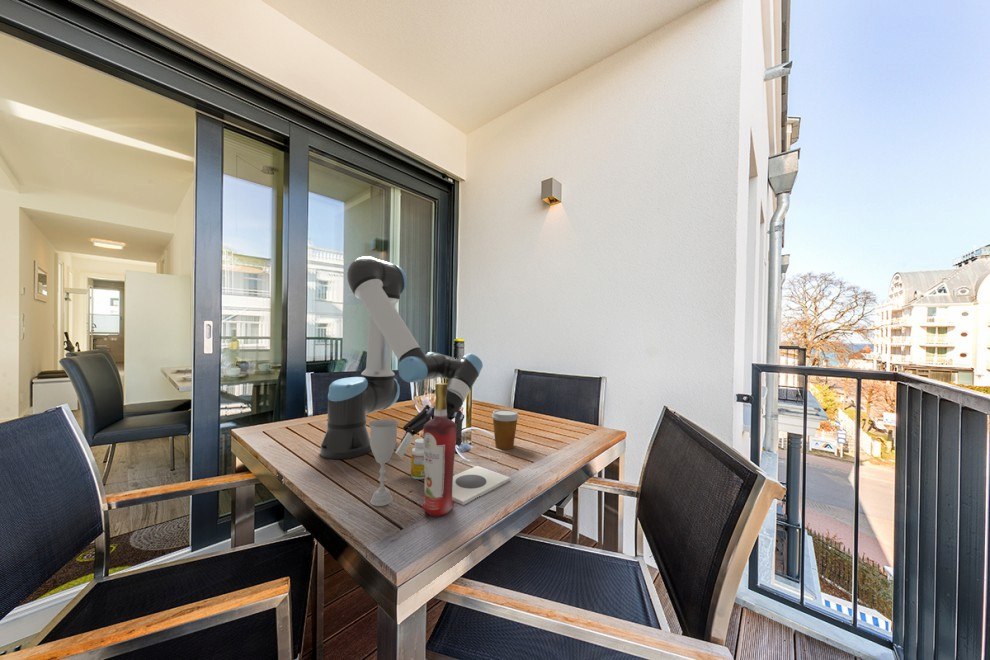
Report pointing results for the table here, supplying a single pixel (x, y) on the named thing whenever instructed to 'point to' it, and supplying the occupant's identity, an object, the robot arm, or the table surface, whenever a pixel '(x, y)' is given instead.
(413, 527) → the table surface
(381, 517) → the table surface
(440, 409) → the liquor
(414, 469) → the supplement bottle
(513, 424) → the disposable coffee cup
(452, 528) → the table surface
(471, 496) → the cream rectangular slab
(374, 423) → the chalice
